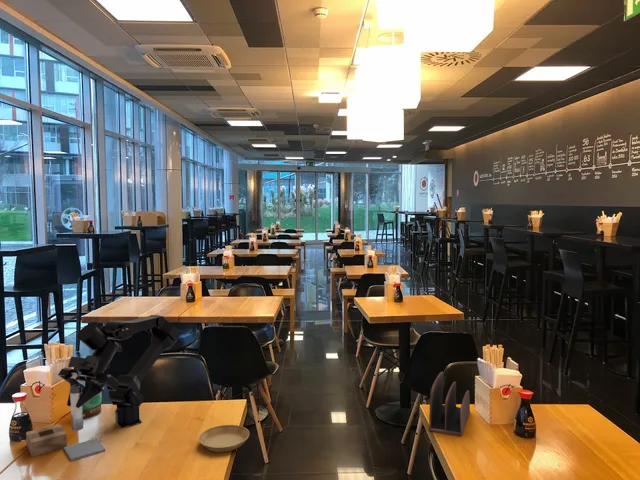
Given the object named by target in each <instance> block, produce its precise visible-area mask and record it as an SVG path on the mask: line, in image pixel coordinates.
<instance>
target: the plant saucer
mask: <svg viewBox="0 0 640 480" xmlns="http://www.w3.org/2000/svg"><path fill="white" fill-rule="evenodd" d="M249 437H250V431H249V430H248V428H246V427H244V426H241V425H238V424H237V425H236V424H223V425H218V426H217V425H216V426H213V427H210V428H207V429H206V430H204V431H202V433H200V435H199V436H198V442H199V443H200V444H201V445H202V446H203V448H206V449H207V450H209V451H211V452H216V453H225V452H231V451H234V450H237V449H238V448H240V447H241V446H242V445H244V443H246V441H247V440H248V438H249Z"/></svg>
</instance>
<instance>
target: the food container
mask: <svg viewBox="0 0 640 480" xmlns="http://www.w3.org/2000/svg"><path fill="white" fill-rule="evenodd" d="M103 390H104V391H105V387H104V388H103ZM102 395H103V392H100V393H99V394H97V395H96V396H94V397H93V398H91V399H90V400H89V401H87V402H86V403H85V404H83V405H82V408H83V420H85V419H91V418H94V417H96V416H99V415H100V414H101V412H102Z"/></svg>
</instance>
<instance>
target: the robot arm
mask: <svg viewBox="0 0 640 480" xmlns="http://www.w3.org/2000/svg"><path fill="white" fill-rule="evenodd" d="M146 330H149V332H150V334H151V343H150V344H149V346H148V347H147V348H146V350H145V351H144V352H143V354H142V355H141V356H140V358H139V359H137V362H135V364H134V366H133V367H132V368H131V369H130V371H129V372H128V373H127V374H125V375H124V374H119V375H118V376H117V377H116V378H115V377H114V376H113V375H111V374H110V373H105V371H106V369H108V370H110V368H112V367H111V365H110V363H111V361H112V359H113V357H114V356H115V353H116V352H118V353H122V351H123V347H122V346H121V344H122V343H120V342H116V341H115V340H118V341H125V340H127V339H129V338H131V337H132V336H133V335H135V334H136V333H140V332H143V331H146ZM179 337H180V333H179V330H178V329H177V327H175V325H173V324H172V323H171V322H169V321H168V320H166V318H165V317H164V316H163V315H157V314H151V315H148V316H144V317H140V318H136V319H131V320H108V321H106V322H105V325H103V326H101V325H100V323H99V322H97V321H96V320H95V321H94V320H93V321H90V322H89V324H86V325H84V326H83V327H82V328H81V329H79V331H78V333H77V339H78V340H79V341H80V342H81V343H82V344H84V345H85V346H86V347H87V348H88V349H89V350H92V351H93V352H92V353H91V355H89V354H88V355H86V356H85V358H84V357H79V356H72V355H71V356H70V359H69V362H68V366H67V367H64V368H61V369H60V371H59V373H58V374H57V376H58V377H60V378H61V379H62V380H64V381H65V382H67V383H68V384H69V389H70V388H71V386H72V385H74V384H79V385H80V386H81V387H82V394H81V396H80V398H79V400H78V402H77V404H76V407H77V408H79V407H81V406H82V405H83V404H85V403H86V402H87V401H89V400H90V399H91V398H93V397H94V396H96V395H97V394H99V393H100V392H102V393H103V392H104V391H105V386H106V387H107V388H106V389H107V390H108V396H109V399H110V401H111V404H112V405H113V406H116V409H115V410H114V416H115V417H114V419H115V423H116V424H117V425H118V426H119V427H120V428H127V427H130V426H134V425H137V424H141V423H142V420H141V419H140V406H141V405H142V404H143V403H144V399H145V396H144V395H143V394H142V393H140V391H141V382H142V381H143V379H144V378H145V377H146V375H148V372H149V371H150V370H151V368H152V367H153V366H154V364H155V363H156V361H157V360H158V359H159V358H160V356H161V355H162V354H163V352H164V351H166V350H168V349H170V348H171V347H173V346H174V345H175V344H176V342H178V340H179ZM75 369H76V370H75ZM103 388H104V390H103ZM66 406H68V407H71V402H70V391H69V393H68V397H67V403H66Z"/></svg>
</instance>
